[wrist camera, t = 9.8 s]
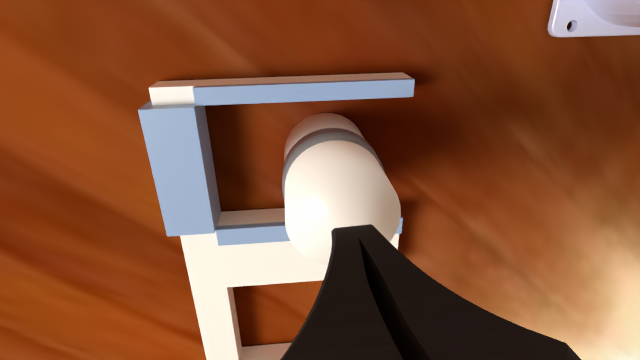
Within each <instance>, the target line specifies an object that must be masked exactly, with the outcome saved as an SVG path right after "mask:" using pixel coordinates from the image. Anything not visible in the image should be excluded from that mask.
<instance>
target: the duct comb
mask: <svg viewBox="0 0 640 360" xmlns="http://www.w3.org/2000/svg"><path fill="white" fill-rule="evenodd" d="M414 83H415V79H413V78H411V77H410V76H408V75H406V74H405V73H403V72H399V73H372V74H344V75H317V76H289V77H262V78H235V79H207V80H180V81H158V82H157V83H155V84H154V85H152V86H150V87H149V92H150V97H151V100H150V101H149V102H148V103H146V104H145V105H144V106H142V107H141V108H140V109H138V112H139V117H140V121H141V125H142V130H143V134H144V138H145V142H146V147H147V151H148V155H149V160H150V164H151V168H152V173H153V177H154V181H155V186H156V190H157V194H158V199H159V203H160V207H161V212H162V216H163V220H164V225H165V229H166V233H167V236H180V237H181V242H182V247H183V251H184V256H185V261H186V265H187V270H188V275H189V280H190V284H191V289H192V294H193V298H194V303H195V308H196V312H197V317H198V322H199V326H200V331H201V336H202V340H203V345H204V350H205V354H206V359H207V360H280V359H281V358H282V357H283V355H284V354H285V352H286V351H287V349H288V348H289V346H290V345H291V343H281V344H270V345H258V346H247V347H242V346H241V339H240V332H239V326H238V319H237V313H236V306H235V300H234V293H233V287H239V286H252V285H265V284H278V283H292V282H305V281H318V280H324V277H325V274H326V271H327V267H328V265H323V264H319V263H317V262H314V261H312V260H310V259H308V258H306V257H305V256H304V255H302V254H301V253H300V252H299V251H298V250H297V249H296V248H295V247H294V245H293V244H292V243H291V241H290V239H289V237H288V234H287V231H286V226H285V208H276V209H260V210H243V211H227V212H221V208H220V202H219V195H218V189H217V182H216V176H215V169H214V163H213V156H212V150H211V143H210V136H209V130H208V123H207V117H206V110H205V105H228V104H253V103H277V102H301V101H325V100H349V99H374V98H398V97H413V94H414ZM402 221H403V218H402V216H400V222H399V226H398V229H397V231H396V233H395V235H394V237H393V238H392V240H391V241H390V243H391V244H392V245H393V246H394V247H395V248H396V249H397V250H398V241H399V234H401V233H402Z"/></svg>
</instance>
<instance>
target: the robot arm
mask: <svg viewBox="0 0 640 360" xmlns="http://www.w3.org/2000/svg"><path fill="white" fill-rule="evenodd" d="M570 21H571V22H572V26H571V28H570V29H569V30H567V25H568V23H569V22H570ZM548 32H549V34H550V35H551V36H554V37H585V36H618V35H640V0H554V1H553V5H552V10H551V14H550V19H549V23H548ZM331 236H332V248H331V254H330V259H329V263H328V267H327V271H326V274H325V277H324V280H323V283H322V286H321V289H320V291H319V294H318V296H317V298H316V301H315V303H314V305H313V307H312V309H311V311H310V313H309V315H308V317H307V319H306V321H305V323H304V324H303V326H302V328H301V330H300V331H299V333H298V334H297V336H296V337H295V339H294V340H293V342H292V343H291V345H290V346H289V348H288V349H287V351H286V352H285V354H284V355H283V357H282V358H281V359H280V360H581V359H580V358H579V357H578V356H577V355H576V353H575V352H574V351H573V350H572V349H571V348H570V347H569V346H568V345H567V344H566V343H564V342H561V341H559V340H556V339H553V338H551V337H548V336H545V335H542V334H540V333H537V332H534V331H532V330H529V329H526V328H524V327H521V326H519V325H517V324H514V323H512V322H510V321H508V320H505V319H503V318H501V317H499V316H496V315H494V314H492V313H490V312H488V311H486V310H484V309H482V308H480V307H478V306H477V305H475V304H473V303H471V302H469V301H467V300H466V299H464V298H462V297H460V296H459V295H457V294H455V293H454V292H452V291H450V290H449V289H447V288H446V287H444V286H443V285H441V284H440V283H438V282H437V281H435V280H434V279H432V278H431V277H430V276H428V275H427V274H426V273H424V272H423V271H422V270H421V269H419V268H418V267H417V266H416V265H414V264H413V263H412V262H411V261H410V260H409V259H407V258H406V257H405V256H404V255H403V254H402V253H401V252H400V251H398V250H397V249H396V248H395V247H394V246H393V245H392V244H391V243H390V242H389V241H388V240H387V239H386V238H385V237H384V236H383V235H382V234H381V233H380V232H379V231H378V230H377V229H376V228H375V227H374V226H373V225H372V224H368V225H359V226H349V227H339V228H334V229H333V230H332V231H331Z"/></svg>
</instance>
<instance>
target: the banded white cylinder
mask: <svg viewBox="0 0 640 360" xmlns="http://www.w3.org/2000/svg"><path fill="white" fill-rule="evenodd" d="M282 190H283V197H284V201H285V226H286V231H287V234H288V237H289V239H290V241H291V243H292V244H293V245H294V247H295V248H296V249H297V250H298V251H299V252H300V253H301V254H302V255H304V256H305V257H306V258H308V259H310V260H312V261H314V262H317V263H319V264H323V265H328V263H329V259H330V254H331V248H332V236H331V231H332V230H333V229H334V228H339V227H349V226H359V225H368V224H372V225H373V226H374V227H375V228H376V229H377V230H378V231H379V232H380V233H381V234H382V235H383V236H384V237H385V238H386V239H387V240H388V241H389V242H390V241H391V240H392V238H393V237H394V235H395V233H396V231H397V229H398V226H399V222H400V216H401V207H400V202H399V199H398V196H397V194H396V192H395V190H394V188H393V186H392V185H391V183H390V181H389V180H388V178H387V176H386V175H385V171H384V168H383V166H382V163H381V162H380V160H379V158H378V157H377V155H376V153H375V152H374V150H373V148H372V147H371V146H370V144H369V143H368V142H367V141H366V140H365V139H364V137H363V136H362V134H361V132H360V131H359V129H358V128H357V126H356V125H355V124H354V123H353V122H351V121H350V120H349V119H347V118H345V117H344V116H341V115H338V114H334V113H318V114H314V115H311V116H308V117H306V118H305V119H303V120H301V121H300V122H299V123H297V124H296V125H295V126H294V127H293V129H292V130H291V132H290V133H289V135H288V137H287V140H286V143H285V148H284V165H283V172H282Z"/></svg>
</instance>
